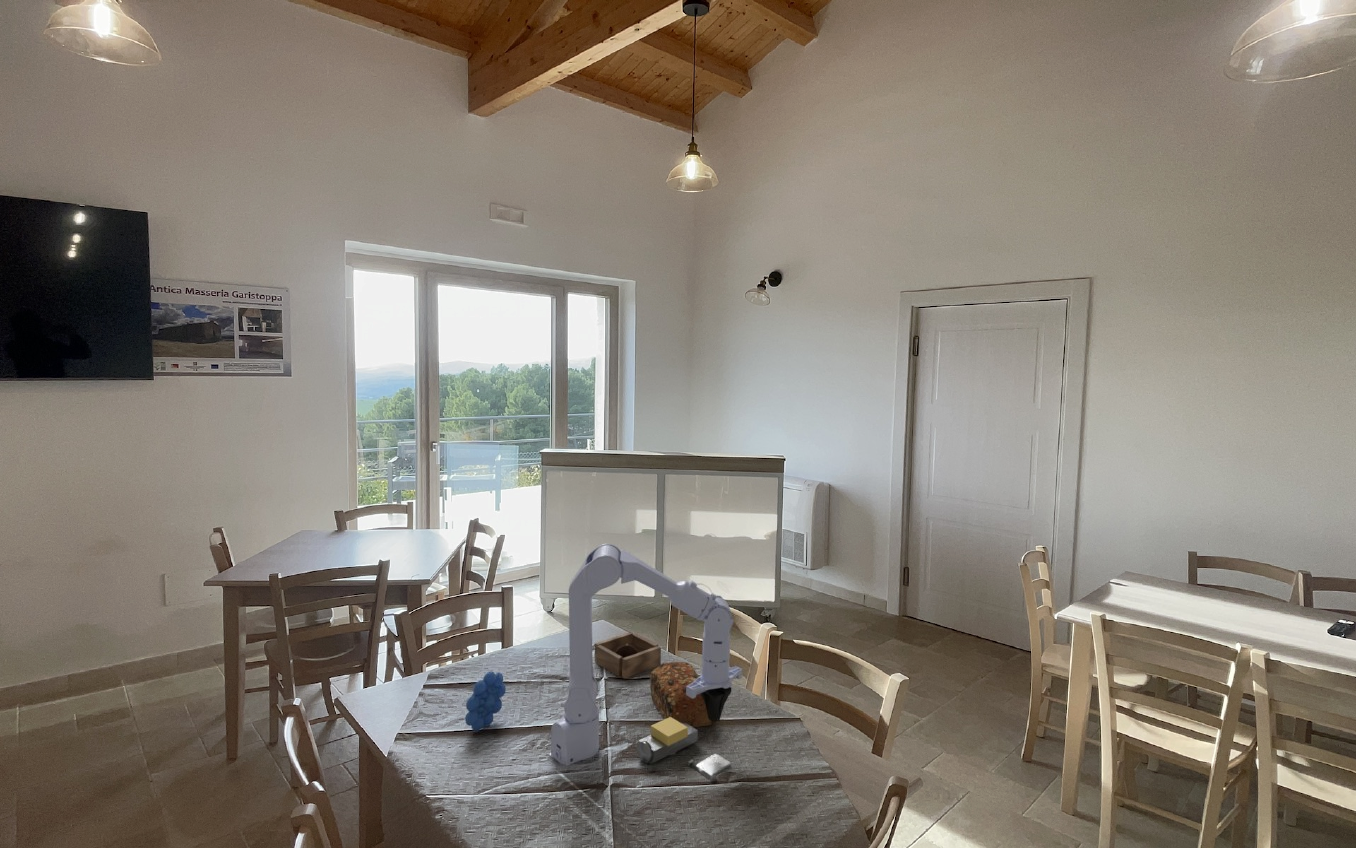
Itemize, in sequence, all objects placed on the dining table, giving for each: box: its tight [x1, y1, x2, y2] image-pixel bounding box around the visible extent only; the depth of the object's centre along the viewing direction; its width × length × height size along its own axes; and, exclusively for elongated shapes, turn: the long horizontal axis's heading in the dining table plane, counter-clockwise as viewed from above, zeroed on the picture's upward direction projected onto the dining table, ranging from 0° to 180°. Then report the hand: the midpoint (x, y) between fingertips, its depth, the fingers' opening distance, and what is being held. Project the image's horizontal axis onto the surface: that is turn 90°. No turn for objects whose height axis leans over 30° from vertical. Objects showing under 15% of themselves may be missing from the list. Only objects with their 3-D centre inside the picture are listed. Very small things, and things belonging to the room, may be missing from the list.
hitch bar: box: [636, 721, 718, 783], centre depth 138 cm, size 13×16×5 cm
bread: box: [649, 661, 712, 728], centre depth 160 cm, size 19×11×10 cm, turn 16°
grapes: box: [464, 670, 507, 732], centre depth 153 cm, size 12×7×12 cm, turn 152°
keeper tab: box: [689, 753, 731, 781], centre depth 137 cm, size 6×6×1 cm
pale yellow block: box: [650, 717, 688, 756], centre depth 142 cm, size 5×5×6 cm
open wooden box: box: [594, 632, 662, 679], centre depth 186 cm, size 13×13×5 cm
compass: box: [615, 644, 638, 658], centre depth 184 cm, size 8×8×7 cm
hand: (713, 719), depth 143 cm, fingers closed
